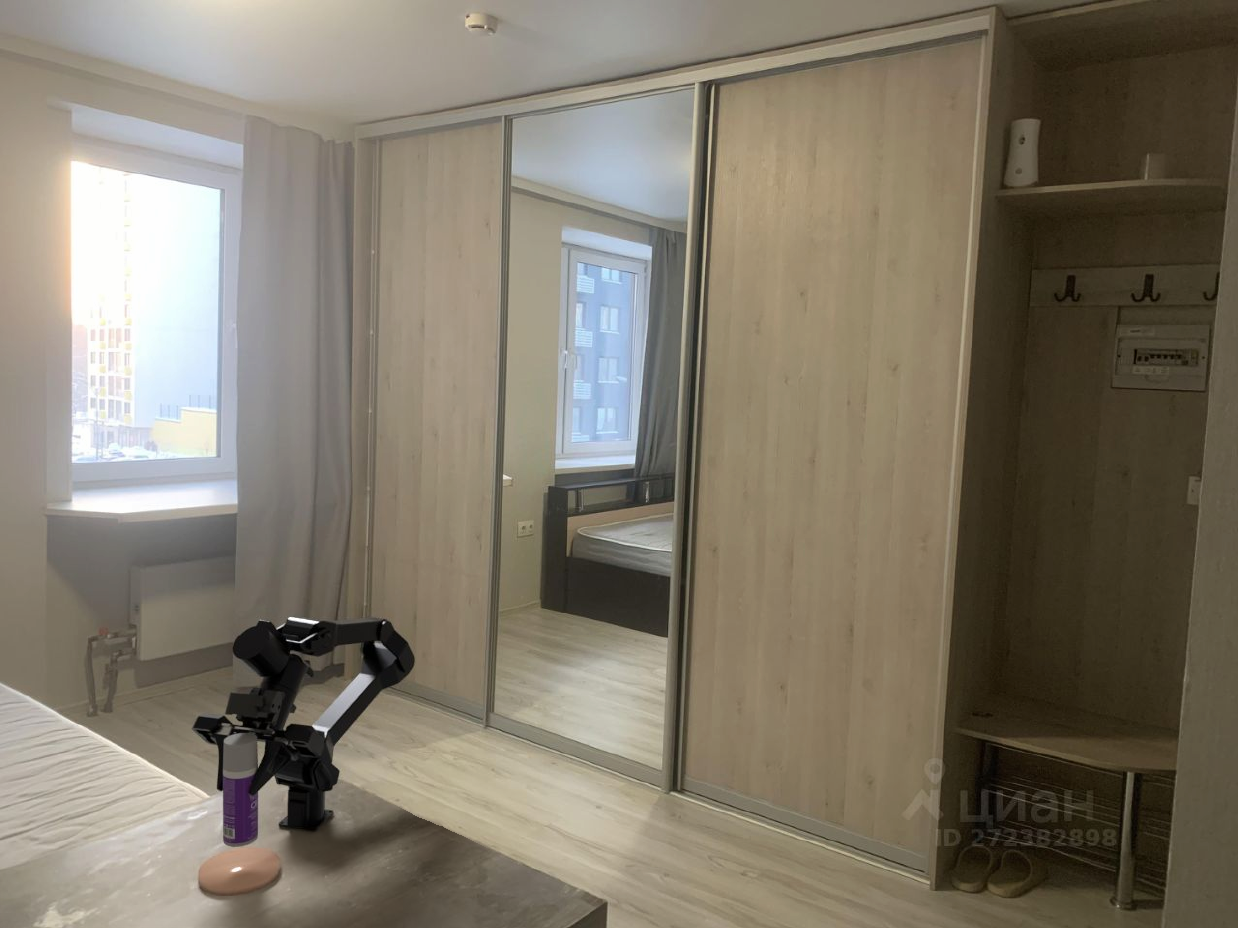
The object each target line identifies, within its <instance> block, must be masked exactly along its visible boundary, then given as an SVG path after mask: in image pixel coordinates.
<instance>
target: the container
mask: <svg viewBox="0 0 1238 928" xmlns="http://www.w3.org/2000/svg"><path fill="white" fill-rule="evenodd" d="M258 753H259V752H258V741H257V736H256V735H254V734H251V733H239V734H234V735H231V736H228V737H227V738H225V739H224V752H223V791H222V841H223V842H222V843H223V844H225V845H226V846H228V847H233V848H241V847H244V846H245V847H246V846H247V845H251V844H252V843H254V842H255V841H256V840H258V838H259V791H258V792H257V793H256V794H255V795H254V796H252V795H250V794H249V790H250V787H251V784H252V781H253V779H254V777H255V774H256V772H257V770H258V767H259V758H258V757H259V756H258V755H259V754H258Z"/></svg>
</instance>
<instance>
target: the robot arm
mask: <svg viewBox="0 0 1238 928" xmlns="http://www.w3.org/2000/svg"><path fill="white" fill-rule="evenodd" d="M353 644H354V645H355V644H360V646H359V651H360V653H361V655H362V658H361V664H360V665H361V666H360V672H359V673H358V675H357V676H356V677H355V678H354V679H353V680H352V682H351V683H349V684H348V685H347V687H346V688H345V689H344V690H342V692H341V693H340V694H339V696H338V697H337V698H336V699H335V700H334V701H333V702H332V703H331V705H330V706H328V708H327V709H326V710H325V711H324V712H323V713H322V714H321V715H320V717H319V718H318V719H317V720H316V721H315V722H314V723H313V724H312V725H308V724H300V723H290V724H288V725H287V726H286V728H285V724H286V723H287V720H288V717H289V716H290V714H295V713H296V710H297V708H298V707H297V705H296V704H295V701H296V699H297V696H298V693H299V690H300V688H301V686H302V683H303V681H304V679H305V678H307V679H308V678H309V679H310V678H314V676H315V673H314V669H313V667H312V666H311V665H312V664H311V661H310V660H307V659H303V658H302V657H301V656H300V655H306V656H311V657H317V658H319V657H321V656H325V655H327V654H329V653H332V652H333V651H334V650H335V648H337V647H339V646H345V645H353ZM232 653H233V655H234V656H235V658H237V659H238V661H239V662H241V663H242V664H243V665H244V666H245V667H247V668H248V669H249V671H251V672H252V673H253V674H254V675H256V676H257V677H259V678H262V679H261V681H260V684H259V686H258V687H252V689H250V692H249V693H243V692H232V691H230V692H229V696H228V698H227V699H228V700H227V705H226V709H225V711H224V714H225V715H223V714H214V713H207V712H203V713H202V714H200V715H198V716H197V717H196V718H195V720H194V722H193V724H192V726H191V730H192V731H193V732H194V733H195V734H196V735H197V736H198V737H200V738H201V740H203V741H204V742H205V743H207V744H209V745H212V746H217V749H218V765H217V778H216V779H217V780H216V790H218V792H223V752H224V739H225V738H227V737H228V736H231V735H234V734H239V733H251V734H254V735H256V736H257V742H262V743H264V753H263V757H262V759H261V760H260V763H259V764H258V770H257V772H256V774H255V777H254V779H253V781H252V784H251V787H250V790H249V794H250V795H252V796H254V795H255V794H256V793H257V792H258V793H259V792H260V790H262V789H263V787H264V786H266V784H267V783H268V782H269V781H270V780H271V779H272V778H273V777H274V779H275V782H276V784H277V785H282V786H285V787H288V789H287V808H286V809H287V810H286V811H287V812H286V815H285V817H284V818H283V819H281V820H280V821H279V822H278V827H281V828H285V829H286V828H287V829H288V828H289V829H294V830H302V831H308V832H316V831H317V830H319V828H320V827H321V826H323V824H324V823H326V822H327V821H328V820H329V819H330V818H331V817H332V816H333V815H334V813H335V812H334V810H332V809H326V792H330V791H333V787H334V786H336V785H337V783H338V780H339V776H340V772H341V771H340V769H339V768H338V767H336V765H334V764H333V760H334V759H333V758H334V750H335V749H334V748H335V746H336V745H337V743H338V742H339V741H340V739H342V738H343V736H344V735H345V734H346V733H347V732H348V730H349V729H350V728H351V727H352V726H353V724H354V723H355V722H356V721H357V720H358V719H359V718H360V717H361V715H362V714H363V713H364V712H365V711H366V709H367V708H368V707H369V706H370V705H371V704H372V702H373V701H374V700H375V698H377V696H378V695H379V694H380V693H381V692H382V691H383V690H385V689H388V688H391V687H394V686H396V685H399V683H401V682H403V680H404V679H406V678H407V676H409V675H410V673H411V672H412V670H413V669H414V667H415V663H416V659H415V658H416V657H415V655H414V652H413V650H412V648H411V647H410V643H409V642H408V641H407V640H406V639H405V638H404V637H403V636H402V635H401V634H400V633H399V632H398V631H396V630H395V628H394V626H393V624H392V622H391V621H389V620H388V619H387V618H380V617H376V616H375V617H374V616H366V617H362V618H361V617H360V618H353V619H352V618H348V619H338V620H322V619H319V618H318V619H316V618H310V617H305V616H299V615H292V616H289V617H288V618H286V621H285V623H283V624H281V625H279V626H278V627H276V626H275V624H274V623H273V622H272V620H271V621H270V620H264V619H259V620H258V622H257V623H256V625H255V626H250V627H249V628H247V629H245V630H244V631H242V632H241V633H240V634H239V635H238V636H236V638H235V640H234V642H233V644H232ZM227 715H229V716H233V715H236V716H235V719H236V720H237V721H238V722H240V723H242V724H241V725H239V724H234V723H232V722H231V721H230V719H228V718H227ZM284 728H285V729H284Z"/></svg>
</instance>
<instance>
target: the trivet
mask: <svg viewBox="0 0 1238 928" xmlns="http://www.w3.org/2000/svg"><path fill="white" fill-rule="evenodd" d="M280 872H281V858H280V856H279V855H278V853H276V852H275V851H274V850H272V849H269V848H265V847H260V846H259V847H258V846H245V847H244V846H242V847H235V848H233V849H229V850H225V851H222V852H219V853H217V854H214V855H213V856H211V857H209V858H208V859H206V861H204V862H203V863H202V864H201V866H200V867H199V868H198V873H197V874H198V875H197V882H198V883H197V884H198V886H199V888H200V889H201V890H203V891H204V892H206V893H209V894H211V895H215V896H237V895H238V896H239V895H243V894H244V895H245V894H249V893H251V892H255V891H257V890H260V889H263V888H264V887H267V886H268V885H270V884H272V882H273V881H274V880H276V878H277V877H278V876H279V874H280Z"/></svg>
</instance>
